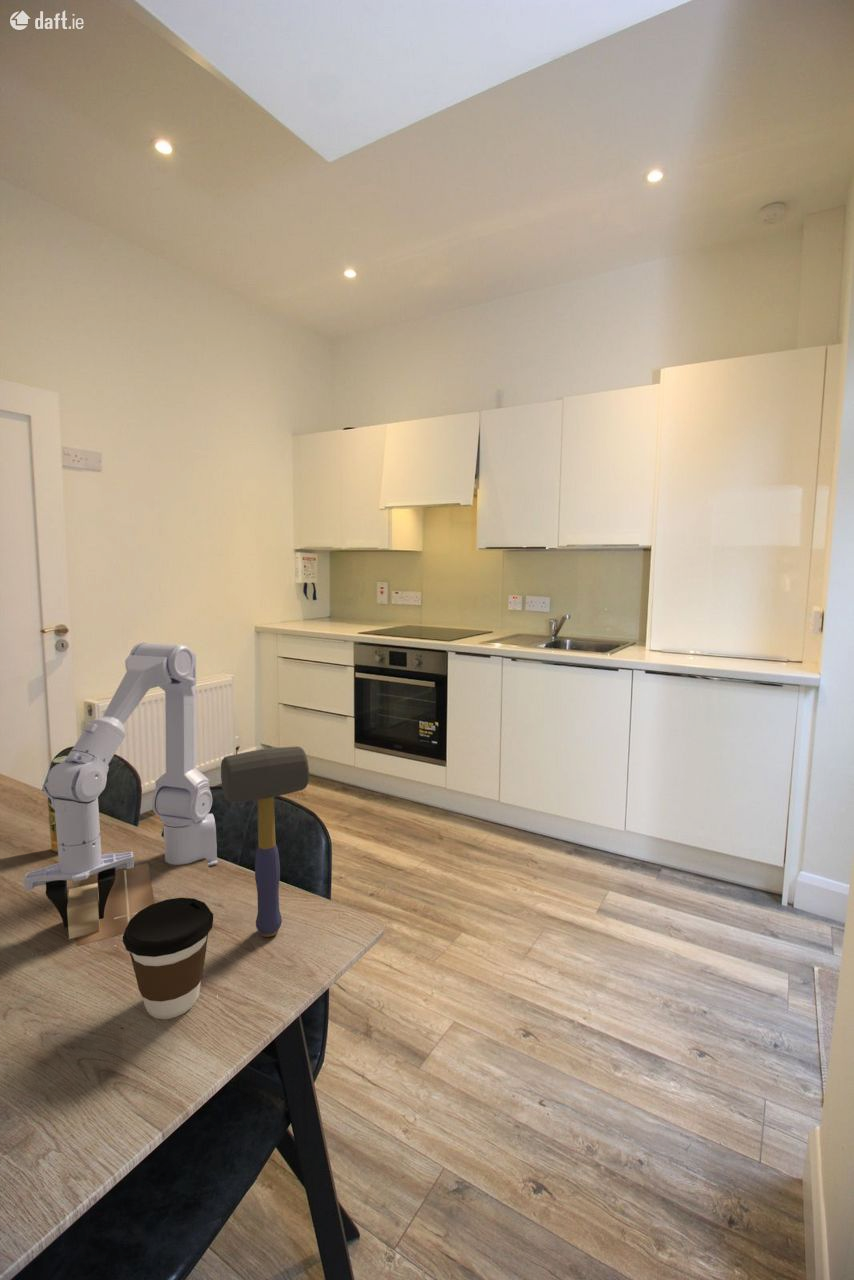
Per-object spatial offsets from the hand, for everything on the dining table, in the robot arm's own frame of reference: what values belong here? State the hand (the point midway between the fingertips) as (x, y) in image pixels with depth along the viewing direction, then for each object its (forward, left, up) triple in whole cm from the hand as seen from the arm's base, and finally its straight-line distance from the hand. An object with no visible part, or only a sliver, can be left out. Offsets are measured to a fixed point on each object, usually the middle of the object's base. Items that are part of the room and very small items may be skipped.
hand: (84, 919), depth 92 cm
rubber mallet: (-26, +13, -3) cm, 29 cm away
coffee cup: (-11, +22, -3) cm, 25 cm away
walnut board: (-5, -6, -2) cm, 8 cm away
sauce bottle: (+3, -32, -3) cm, 32 cm away
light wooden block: (0, 0, -2) cm, 2 cm away
